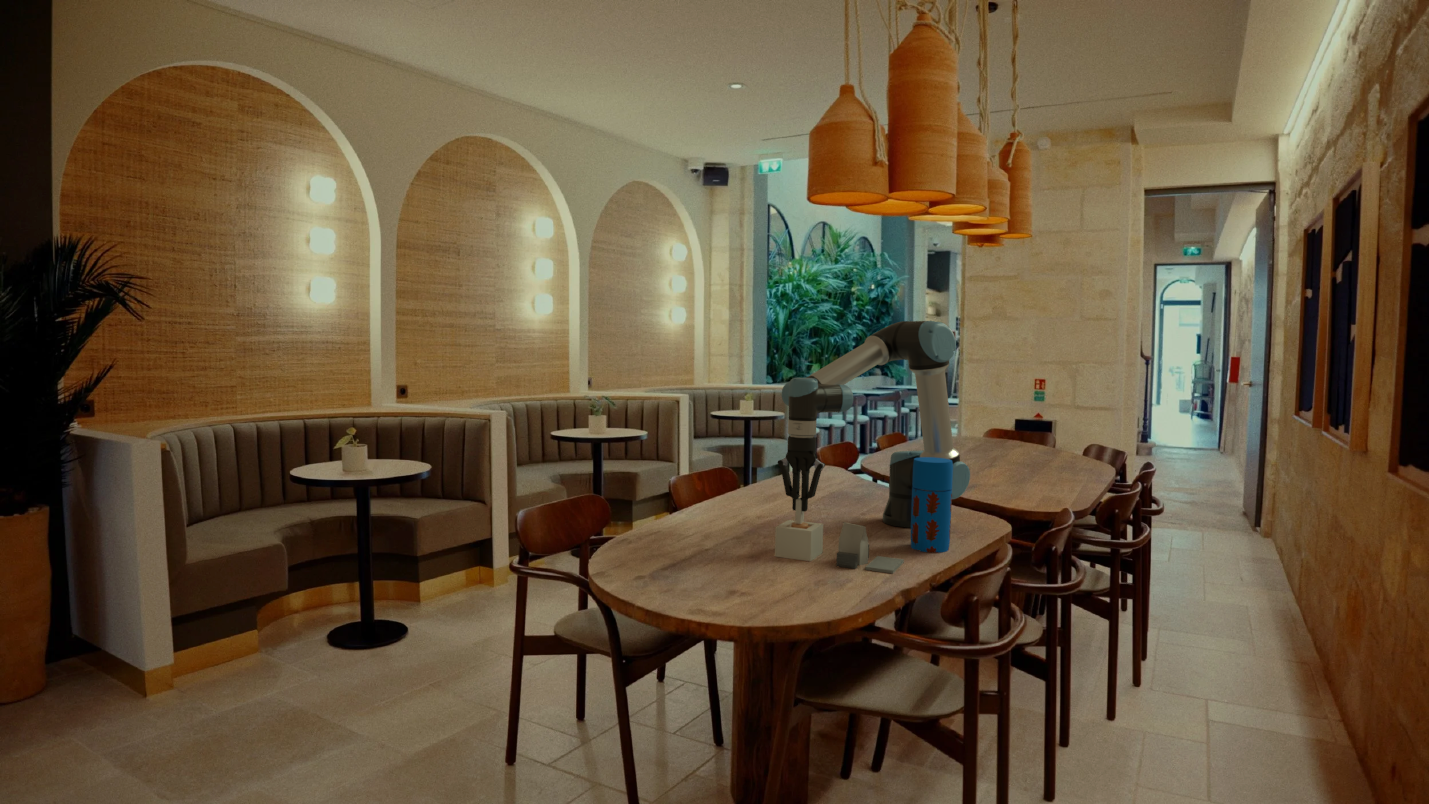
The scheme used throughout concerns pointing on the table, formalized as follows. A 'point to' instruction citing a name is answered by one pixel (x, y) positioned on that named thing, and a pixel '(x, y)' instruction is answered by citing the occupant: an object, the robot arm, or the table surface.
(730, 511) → the table surface
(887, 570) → the mat
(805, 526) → the plunger
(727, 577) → the table surface
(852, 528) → the tea bag
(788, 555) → the housing
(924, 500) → the thermos
